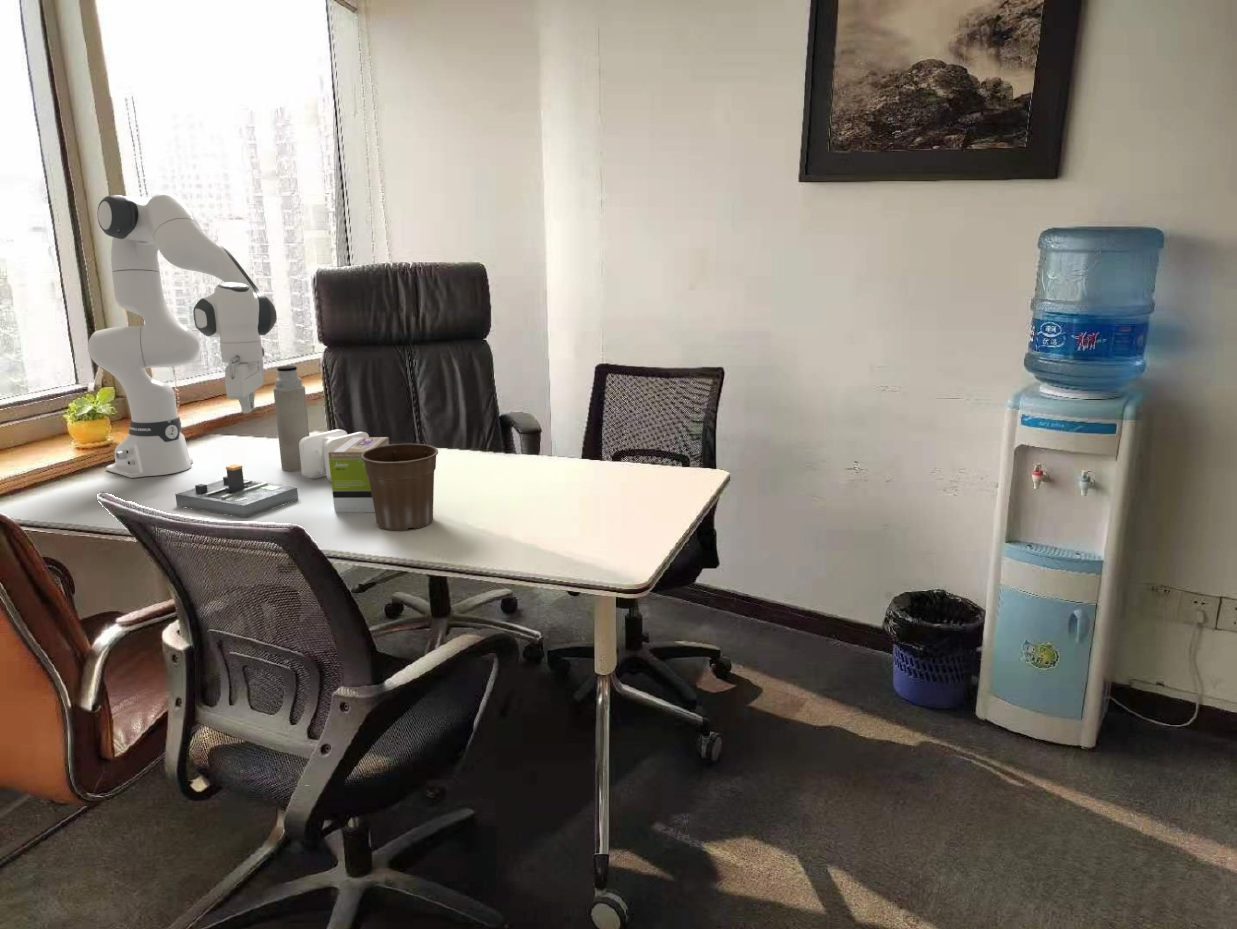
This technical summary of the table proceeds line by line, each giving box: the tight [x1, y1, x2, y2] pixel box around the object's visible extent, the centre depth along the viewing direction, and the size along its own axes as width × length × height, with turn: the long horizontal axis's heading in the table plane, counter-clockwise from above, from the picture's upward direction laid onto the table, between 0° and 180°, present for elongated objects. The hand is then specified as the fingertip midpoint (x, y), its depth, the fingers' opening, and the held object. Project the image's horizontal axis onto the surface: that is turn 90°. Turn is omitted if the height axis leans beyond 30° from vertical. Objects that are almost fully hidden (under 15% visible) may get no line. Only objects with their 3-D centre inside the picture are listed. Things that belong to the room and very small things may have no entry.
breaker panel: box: [174, 475, 299, 519], centre depth 203 cm, size 22×16×5 cm
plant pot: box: [361, 443, 439, 532], centre depth 186 cm, size 16×16×16 cm
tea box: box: [328, 436, 390, 513], centre depth 201 cm, size 15×10×15 cm, turn 178°
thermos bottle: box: [272, 365, 310, 472], centre depth 232 cm, size 8×8×28 cm
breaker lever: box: [225, 464, 248, 492], centre depth 202 cm, size 3×4×6 cm
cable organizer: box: [299, 429, 370, 481], centre depth 225 cm, size 15×11×12 cm
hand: (248, 411), depth 203 cm, fingers closed
